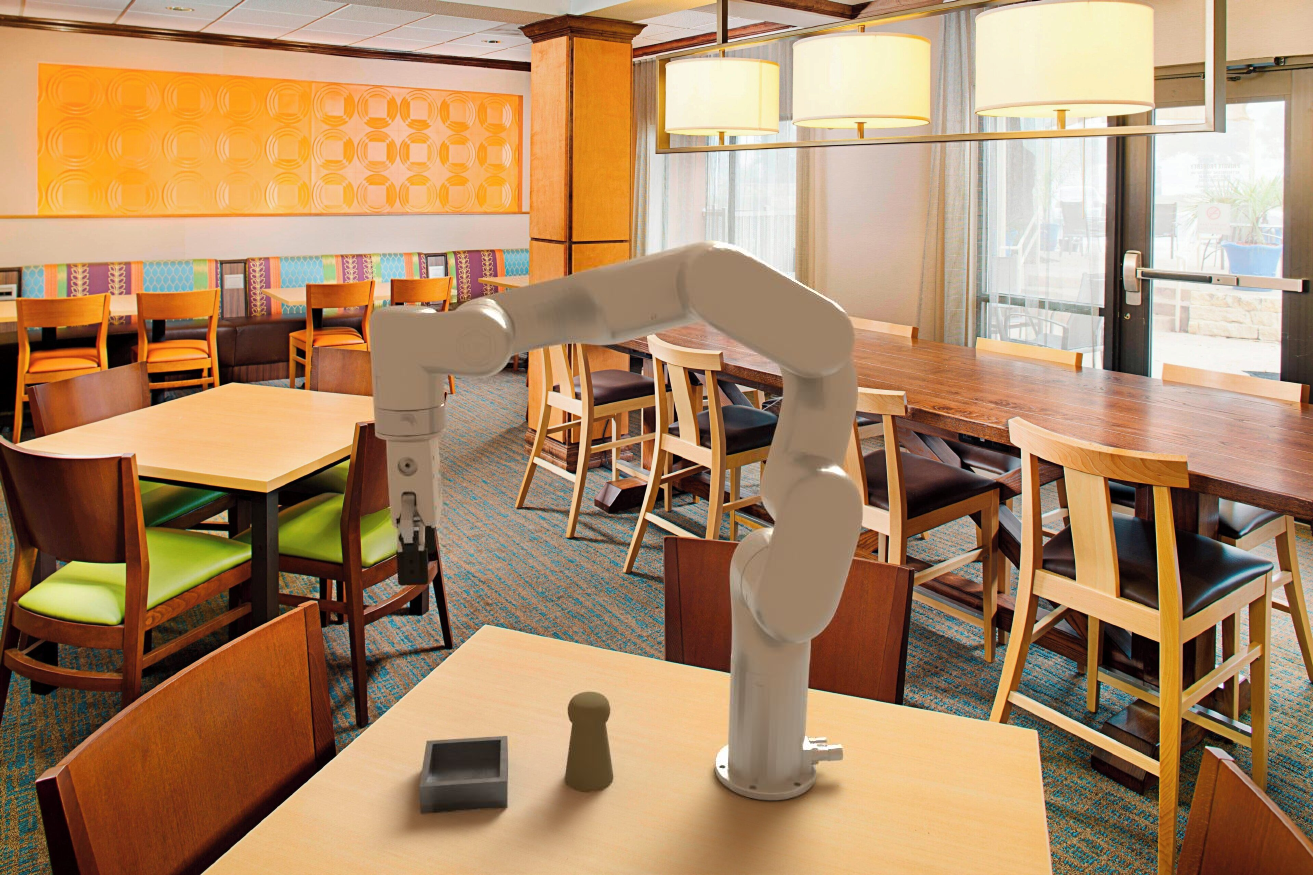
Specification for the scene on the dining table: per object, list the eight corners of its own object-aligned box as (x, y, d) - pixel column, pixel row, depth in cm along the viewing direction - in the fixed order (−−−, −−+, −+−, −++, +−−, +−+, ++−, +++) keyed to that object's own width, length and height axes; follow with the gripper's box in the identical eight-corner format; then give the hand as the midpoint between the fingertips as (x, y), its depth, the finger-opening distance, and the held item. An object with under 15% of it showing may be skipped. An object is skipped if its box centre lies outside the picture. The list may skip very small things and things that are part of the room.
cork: (613, 763, 125) (614, 684, 123) (613, 791, 119) (613, 709, 117) (566, 764, 125) (565, 684, 122) (563, 791, 119) (562, 709, 117)
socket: (507, 760, 126) (507, 735, 125) (507, 807, 116) (506, 780, 115) (427, 765, 124) (426, 740, 123) (420, 813, 115) (419, 786, 114)
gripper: (439, 438, 100) (446, 596, 104) (450, 403, 116) (455, 540, 120) (363, 440, 99) (373, 599, 103) (384, 404, 115) (392, 543, 119)
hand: (417, 567), depth 111 cm, fingers open, 9 cm apart
